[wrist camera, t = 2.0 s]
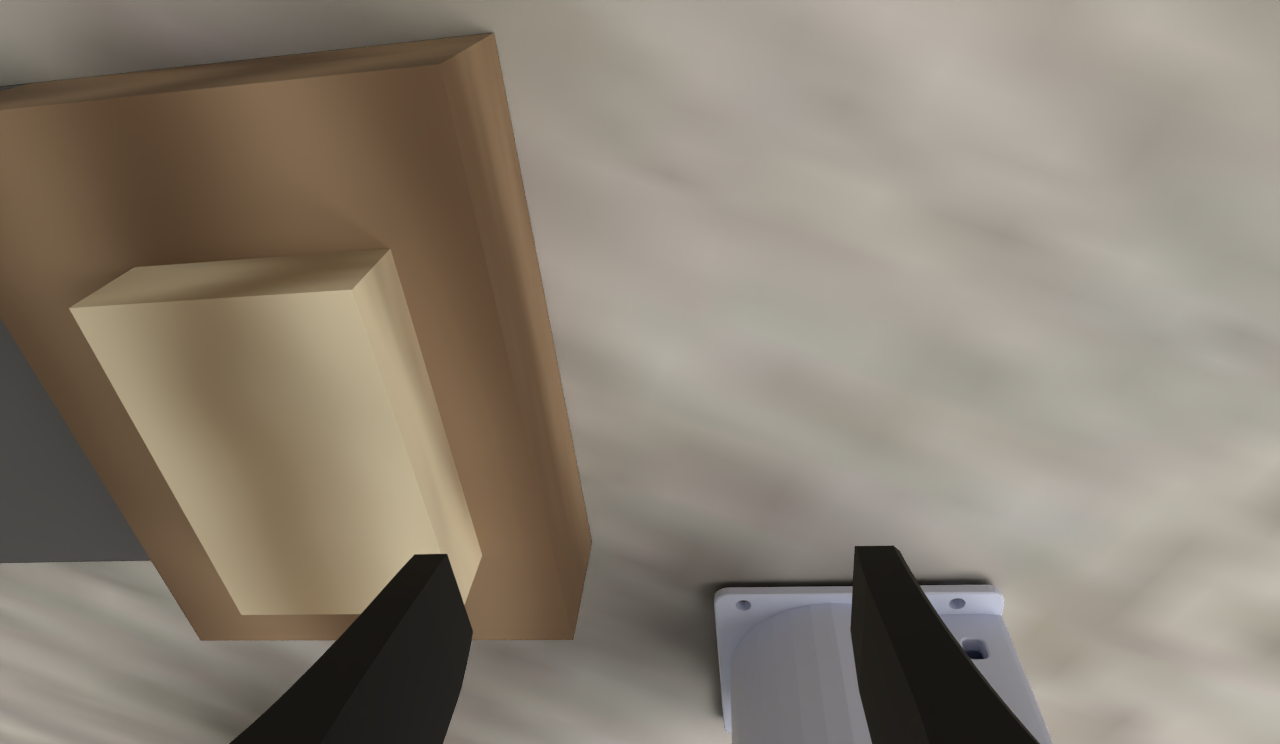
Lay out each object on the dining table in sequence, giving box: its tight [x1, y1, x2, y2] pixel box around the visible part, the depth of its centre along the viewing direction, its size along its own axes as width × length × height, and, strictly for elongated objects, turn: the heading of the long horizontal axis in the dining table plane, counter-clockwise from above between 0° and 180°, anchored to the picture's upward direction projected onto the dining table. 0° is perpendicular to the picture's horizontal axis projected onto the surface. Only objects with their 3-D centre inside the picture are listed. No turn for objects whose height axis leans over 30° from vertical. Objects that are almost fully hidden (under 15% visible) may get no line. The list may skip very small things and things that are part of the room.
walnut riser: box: [0, 33, 592, 640], centre depth 20 cm, size 12×16×4 cm
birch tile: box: [69, 249, 482, 615], centre depth 18 cm, size 6×9×2 cm, turn 6°
